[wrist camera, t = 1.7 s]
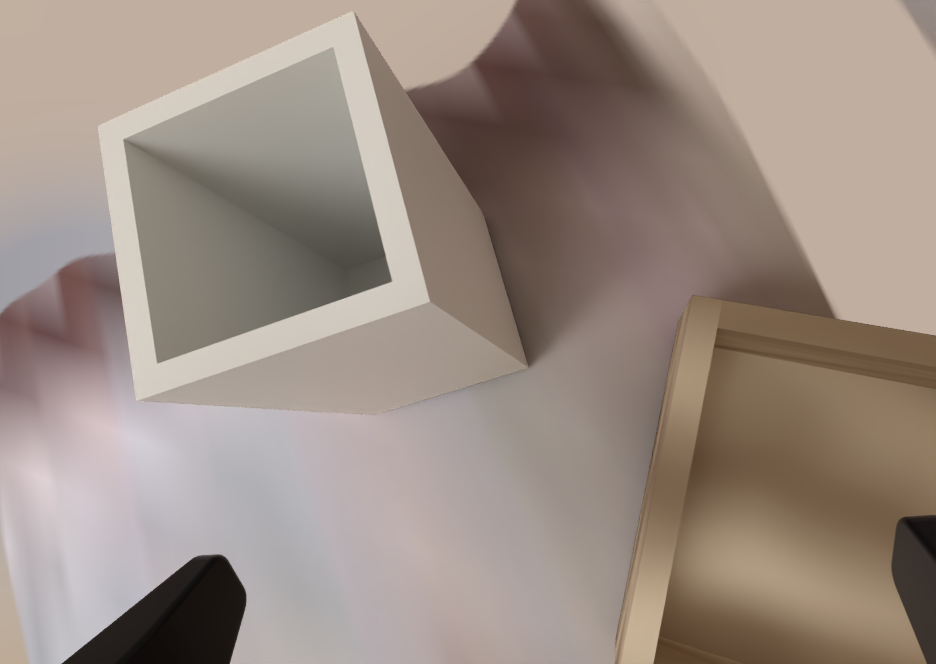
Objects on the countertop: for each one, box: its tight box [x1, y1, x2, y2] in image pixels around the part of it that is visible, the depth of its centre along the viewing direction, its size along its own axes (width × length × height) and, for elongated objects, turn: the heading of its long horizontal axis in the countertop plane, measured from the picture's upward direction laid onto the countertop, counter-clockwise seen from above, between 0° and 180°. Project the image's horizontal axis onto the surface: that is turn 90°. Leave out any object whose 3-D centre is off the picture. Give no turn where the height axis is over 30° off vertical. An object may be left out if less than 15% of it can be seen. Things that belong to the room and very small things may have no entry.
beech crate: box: [615, 295, 936, 664], centre depth 17 cm, size 11×11×4 cm
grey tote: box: [98, 11, 529, 415], centre depth 18 cm, size 6×6×12 cm
